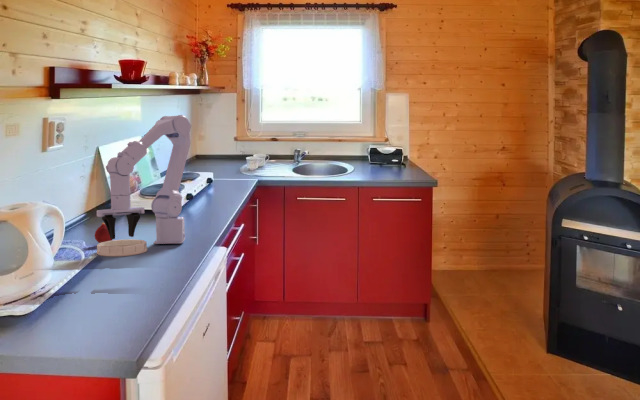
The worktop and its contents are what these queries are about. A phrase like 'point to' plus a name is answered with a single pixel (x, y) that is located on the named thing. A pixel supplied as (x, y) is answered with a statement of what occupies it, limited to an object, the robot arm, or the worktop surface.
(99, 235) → the onion
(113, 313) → the worktop surface
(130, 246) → the dish
